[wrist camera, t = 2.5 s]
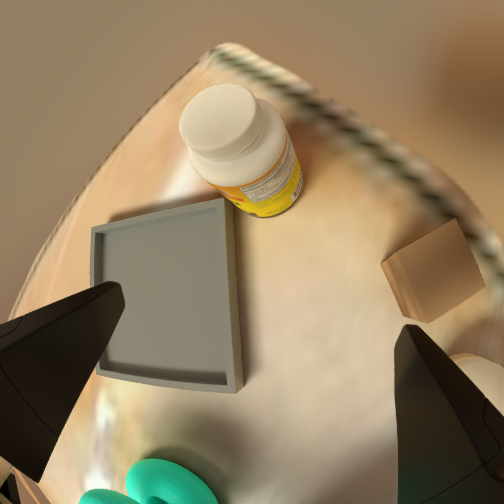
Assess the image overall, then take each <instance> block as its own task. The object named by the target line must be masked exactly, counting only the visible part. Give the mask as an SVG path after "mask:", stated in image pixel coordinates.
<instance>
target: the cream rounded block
mask: <svg viewBox="0 0 504 504" xmlns="http://www.w3.org/2000/svg"><path fill="white" fill-rule="evenodd" d="M449 357H450V358H451V359H452V360H453V361H454V362H455V363H456V365H457V366H458V367H459V368H460V369H461V370H462V371H463V372H464V373H465V374H466V375H467V376H468V377H469V378H470V379H471V380H472V382H473V383H474V384H475V385H476V386H477V387H478V388H479V389H480V390H481V391H482V393H483V394H484V395H485V397H487V398H488V399H489V400H490V401H491V403H492V404H493V405H494V406H495V407H496V408H497V409H498V410H499V411H500V413H501V414H502V415H503V416H504V368H503V367H502V366H500V365H499V364H497V363H494V362H492V361H489V360H487V359H485V358H482V357H480V356H477V355H474V354H470V353H459V354H454V355H451V356H449Z"/></svg>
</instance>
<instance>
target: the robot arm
mask: <svg viewBox="0 0 504 504" xmlns="http://www.w3.org/2000/svg"><path fill="white" fill-rule="evenodd" d="M124 309H125V299H124V295H123V291H122V287H121V285H120V283H118V282H115V281H106V282H104V283H101V284H99V285H96V286H94V287H91V288H89V289H86V290H84V291H81V292H79V293H76V294H74V295H71V296H69V297H66V298H64V299H61V300H59V301H56V302H54V303H51V304H49V305H47V306H44V307H42V308H39V309H37V310H35V311H32V312H30V313H27V314H25V315H24V316H20V317H18V318H16V319H13V320H11V321H8V322H6V323H3V324H0V504H21V502H20V498H19V493H18V489H17V484H16V479H15V475H14V474H12V472H11V470H12V469H13V467H15V468H16V469H18V470H19V471H21V472H22V473H23V474H25V475H26V476H28V477H29V478H31V479H32V480H33V481H35V482H36V483H39V481H40V480H41V477H42V475H43V472H44V470H45V468H46V465H47V463H48V461H49V458H50V456H51V454H52V452H53V450H54V447H55V445H56V443H57V441H58V438H59V436H60V434H61V432H62V430H63V428H64V426H65V424H66V422H67V420H68V418H69V416H70V414H71V412H72V410H73V408H74V406H75V404H76V402H77V400H78V398H79V396H80V394H81V392H82V390H83V388H84V387H85V385H86V383H87V381H88V379H89V377H90V376H91V374H92V372H93V370H94V368H95V367H96V365H97V363H98V361H99V359H100V358H101V356H102V354H103V352H104V351H105V349H106V347H107V345H108V343H109V341H110V339H111V337H112V335H113V333H114V330H115V328H116V326H117V324H118V322H119V320H120V318H121V315H122V313H123V311H124ZM394 374H395V378H394V394H395V407H396V420H397V438H398V504H504V416H503V415H502V414H501V413H500V411H499V410H498V409H497V408H496V407H495V406H494V405H493V404H492V403H491V401H490V400H489V399H488V398H487V397H485V395H484V394H483V393H482V391H481V390H480V389H479V388H478V387H477V386H476V385H475V384H474V383H473V382H472V380H471V379H470V378H469V377H468V376H467V375H466V374H465V373H464V372H463V371H462V370H461V369H460V368H459V367H458V366H457V365H456V363H455V362H454V361H453V360H452V359H451V358H450V357H449V356H448V355H447V354H446V353H445V352H444V351H443V350H442V349H441V348H440V347H439V346H438V345H437V344H436V343H435V342H434V341H433V340H432V339H431V338H430V337H429V336H428V335H427V334H426V333H425V332H424V331H423V330H422V329H421V328H420V327H419V326H418V325H412V324H406V325H404V326H403V328H402V330H401V333H400V335H399V337H398V339H397V342H396V344H395V348H394Z"/></svg>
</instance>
